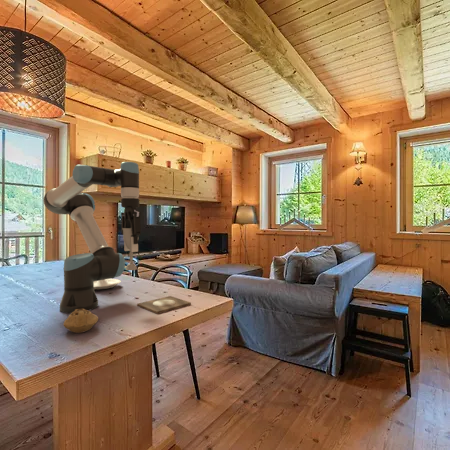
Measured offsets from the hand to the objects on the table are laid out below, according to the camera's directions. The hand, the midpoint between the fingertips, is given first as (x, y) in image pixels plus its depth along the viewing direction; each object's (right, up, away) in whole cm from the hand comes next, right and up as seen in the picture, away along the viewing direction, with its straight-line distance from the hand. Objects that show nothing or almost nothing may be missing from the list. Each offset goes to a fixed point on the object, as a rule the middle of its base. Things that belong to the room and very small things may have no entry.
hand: (131, 251), depth 126 cm
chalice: (0, -8, 0) cm, 8 cm away
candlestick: (-30, -24, +36) cm, 53 cm away
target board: (+13, -25, +5) cm, 29 cm away
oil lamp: (-11, -26, -23) cm, 36 cm away
